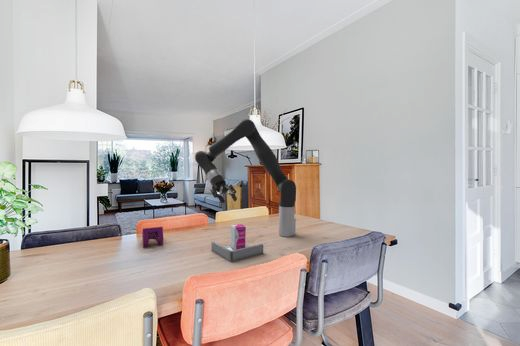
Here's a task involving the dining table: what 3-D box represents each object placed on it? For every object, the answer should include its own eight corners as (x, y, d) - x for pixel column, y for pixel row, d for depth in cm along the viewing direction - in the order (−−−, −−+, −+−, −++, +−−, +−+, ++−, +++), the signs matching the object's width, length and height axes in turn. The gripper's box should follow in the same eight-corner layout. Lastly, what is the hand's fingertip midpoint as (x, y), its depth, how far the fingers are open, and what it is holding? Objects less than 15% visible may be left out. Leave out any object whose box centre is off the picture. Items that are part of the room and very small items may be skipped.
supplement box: (234, 251, 125) (234, 227, 124) (230, 247, 130) (230, 224, 130) (245, 249, 127) (245, 226, 127) (241, 246, 133) (241, 223, 132)
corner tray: (242, 244, 139) (242, 235, 139) (263, 253, 125) (263, 244, 124) (211, 250, 128) (211, 241, 128) (230, 262, 114) (230, 252, 114)
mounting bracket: (142, 251, 145) (143, 245, 130) (142, 235, 148) (142, 228, 133) (160, 248, 149) (163, 243, 134) (159, 233, 152) (162, 226, 137)
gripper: (208, 175, 139) (222, 198, 132) (228, 173, 150) (243, 195, 143) (202, 184, 143) (216, 207, 136) (223, 182, 154) (236, 204, 146)
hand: (230, 201), depth 139 cm, fingers open, 8 cm apart
